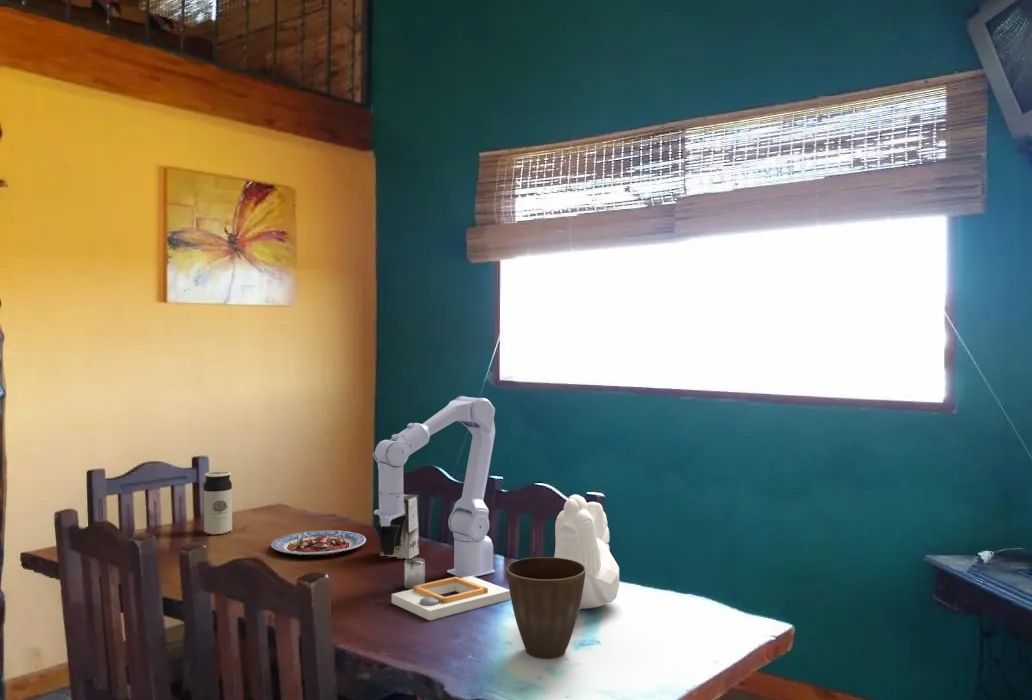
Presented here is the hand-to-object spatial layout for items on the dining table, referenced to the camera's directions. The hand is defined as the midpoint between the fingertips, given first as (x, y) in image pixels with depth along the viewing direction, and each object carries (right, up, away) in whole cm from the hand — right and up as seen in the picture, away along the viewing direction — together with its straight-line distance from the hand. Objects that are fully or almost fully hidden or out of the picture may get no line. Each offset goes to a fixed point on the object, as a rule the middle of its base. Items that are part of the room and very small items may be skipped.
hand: (391, 550), depth 196 cm
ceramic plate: (-26, -9, +40) cm, 48 cm away
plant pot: (+35, -11, -37) cm, 52 cm away
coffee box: (-3, -9, +32) cm, 33 cm away
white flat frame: (+14, -10, -7) cm, 19 cm away
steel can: (+5, -10, +4) cm, 12 cm away
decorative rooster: (+46, -10, -7) cm, 47 cm away
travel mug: (-61, -9, +58) cm, 84 cm away
